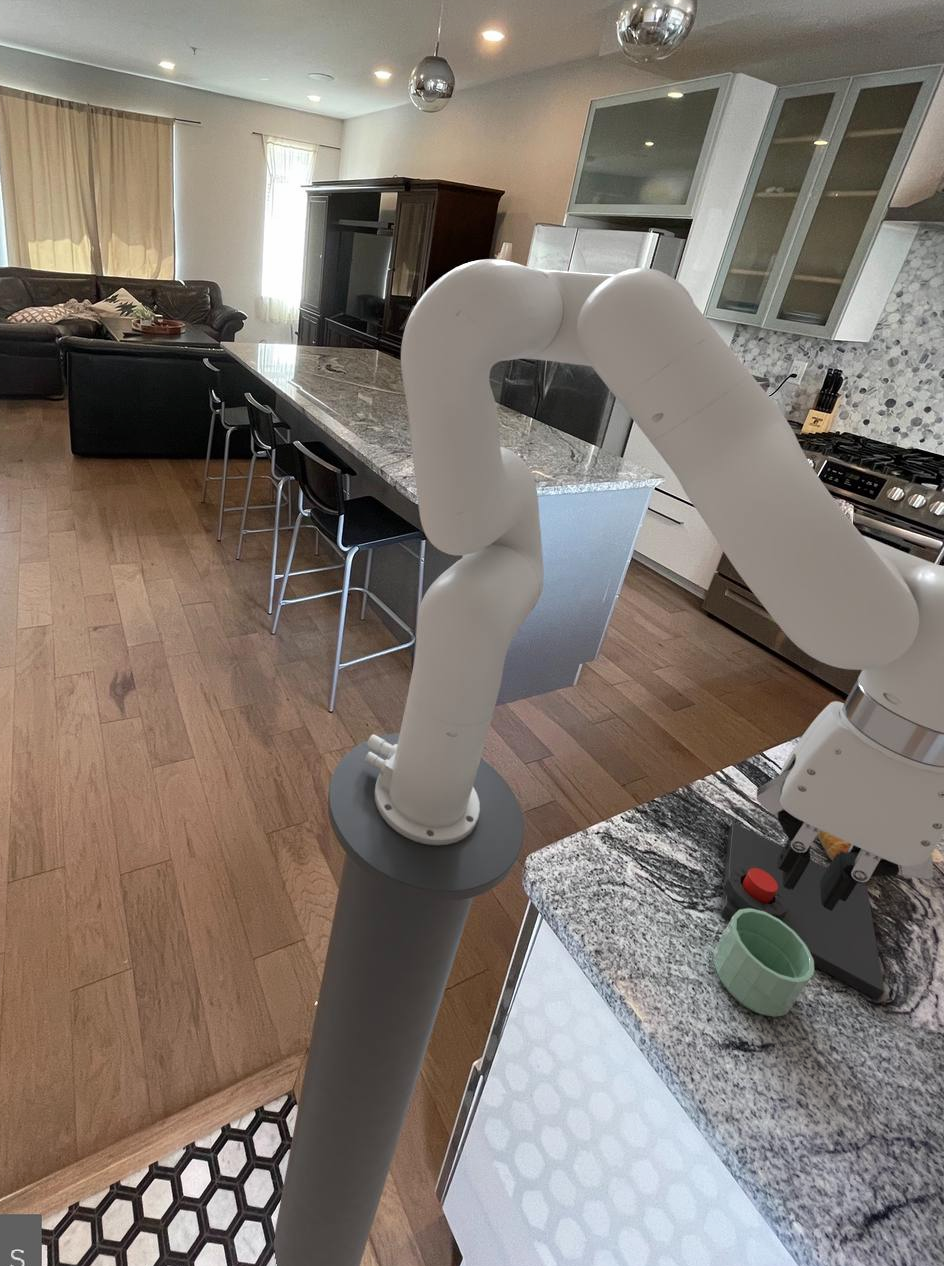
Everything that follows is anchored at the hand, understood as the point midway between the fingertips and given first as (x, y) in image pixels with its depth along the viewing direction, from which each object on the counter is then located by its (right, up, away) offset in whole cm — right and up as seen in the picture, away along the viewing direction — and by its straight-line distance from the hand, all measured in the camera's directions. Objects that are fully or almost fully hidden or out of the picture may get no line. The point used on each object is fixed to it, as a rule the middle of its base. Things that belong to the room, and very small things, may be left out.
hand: (806, 885), depth 55 cm
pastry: (+21, -9, +23) cm, 32 cm away
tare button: (+3, -7, +11) cm, 14 cm away
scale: (+8, -10, +14) cm, 19 cm away
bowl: (-2, -12, +5) cm, 13 cm away
